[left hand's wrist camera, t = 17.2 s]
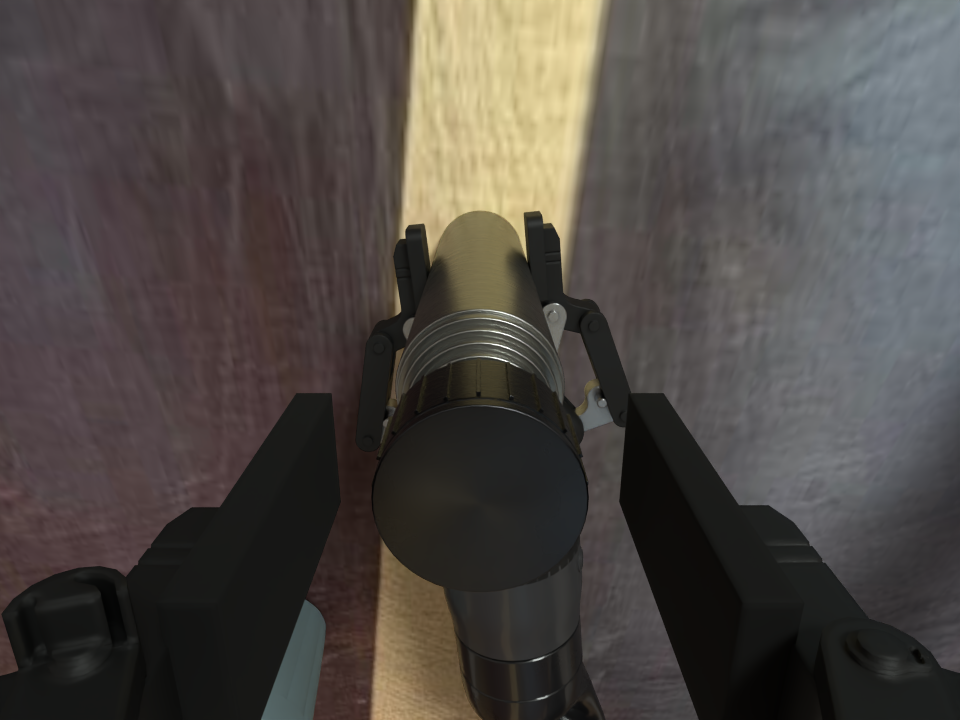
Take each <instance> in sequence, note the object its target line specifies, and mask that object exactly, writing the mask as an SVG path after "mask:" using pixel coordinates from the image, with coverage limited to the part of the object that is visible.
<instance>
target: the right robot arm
mask: <svg viewBox="0 0 960 720" xmlns="http://www.w3.org/2000/svg"><path fill="white" fill-rule="evenodd" d="M524 225H525V237H526V250H527V263H528V266H529V269H530V272H531V275H532V278H533V281H534V284H535V287H536V290H537V293H538V296H539V299H540V302H541V305H542V308H543V312H544V315H545V318H546V321H547V324H548V327H549V330H550V333H551V336H552V339H553V342H554V345H555V348H556V351H557V352H558V348H559V344H560V341H561V337H562V333H563V330H568V331H572V332H577V333H580V334H581V337H582V339H583V342H584V345H585V348H586V351H587V354H588V356H589V359H590V362H591V365H592V368H593V370H594V373H595V376H596V379H593V380H591V381H589V382H588V383H587V384H586V386H585V390H584V392H585V400H584V402H583V404H582V405H581V406H579V407H578V408H575V406H574V405H573V404H572V403H571V402H570V401H569V400H568V399H567V398H566V397H565V396H564V400H563V407H564V409H565V411H566V414H570V416H571V419H572V423H573V426H574V429H575V432H576V436H577V439H578V442H579V445H580V443H581V441H582V439H583V436H584V432H585V431H587V430H590V429H593V428H596V427H599V426H602V425H605V424H608V423H611V422H614V423H615V424H616V425H618V426H620V427H626V417H627V406H628V394H629V393H631V391H630V388H629V385H628V382H627V379H626V376H625V374H624V371H623V368H622V365H621V362H620V359H619V356H618V353H617V350H616V347H615V344H614V341H613V338H612V335H611V332H610V329H609V326H608V323H607V320H606V318H605V317H604V315H603V314H602V313H601V312H600V310H599V307H598V306H597V304H596V303H595V302H594V301H593V300H590V299H583V300H578V299H574V298H571V297H568V296H566V295H565V294H564V293H563V284H562V268H561V253H560V238H559V236H558V234H557V232H556V230H555V228H554V227H553V225H552V224H551V223H547V224H543V219H542V214H541V213H540V211H534V212H525V213H524ZM405 235H406V239H400V240H399V241H398V243H397V244H396V248H395V252H394V256H393V257H394V264H395V269H396V277H397V284H398V290H399V297H400V303H401V312H400V313H399V314H398V315H397V316H395V317H393V318H391V319H388V320H382V321H379V322H378V323H377V324H376V326H375V327H374V329H373V331H372V333H371V335H370V337H369V339H368V341H367V343H366V350H365V359H364V368H363V377H362V386H361V395H360V404H359V413H358V422H357V431H356V444H357V446H358V447H359V448H360V449H361V450H363V451H366V452H372V451H375V450H376V449H377V448H378V447H379V446H380V443H381V442H382V439H383V436H384V433H385V429H386V426H387V423H388V420H389V417H390V416H392V417H393V414H394V412H395V409H396V407H397V406H398V405H397V400H395V399H390V396H391V389H392V381H393V373H394V365H395V357H396V351H397V350H399V349H401V348H404V347H405V345H406V342H407V339H408V336H409V333H410V330H411V327H412V324H413V321H414V318H415V315H416V312H417V309H418V306H419V303H420V300H421V297H422V294H423V291H424V288H425V285H426V282H427V279H428V276H429V273H430V270H431V267H430V260H429V252H428V245H427V237H426V230H425V225H424V224H416V225H409V226H408V227H407V229H406V231H405ZM582 567H583V550H582V549H581V546H580V536H579V537H578V539H577V541H576V543H575V545H574V546H573V547H572V549H571V550H570V551H569V553H568V554H567V555H566V556H565V557H564V558H563V559H562V560H561V561H560V562H559V563H558V564H557V565H556V566H555V567H553V568H552V569H551V570H550V571H548V572H547V573H545V574H544V575H542V576H540V577H539V578H537V579H535V580H533V581H531V582H528V583H526V584H524V585H521V586H518V587H515V588H511V589H506V590H502V591H494V592H466V591H458V590H454V589H449V588H445V587H443V588H444V593H445V597H446V601H447V604H448V608H449V610H450V613H451V616H452V620H453V624H454V630H455V637H456V644H457V651H458V657H459V664H460V670H461V677H462V682H463V685H464V689H465V692H466V695H467V698H468V700H469V702H470V704H471V706H472V707H473V709H474V711H475V712H476V713H477V715H478V716H479V717H480V718H481V719H482V720H605V717H604V713H603V711H602V708H601V705H600V703H599V700H598V698H597V695H596V693H595V690H594V687H593V685H592V682H591V679H590V677H589V675H588V673H587V671H586V669H585V667H584V664H583V662H582V640H581V624H580V598H581V589H582Z"/></svg>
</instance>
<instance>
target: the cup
mask: <svg viewBox="0 0 960 720" xmlns="http://www.w3.org/2000/svg"><path fill="white" fill-rule="evenodd" d="M325 635H326V624H325V621H324V618H323V616H322V614H321V613H320V611H319V610H318V609H317V608H316V607H315V606H314V605H313V604H311V603H310V602H308V601H307V600H305V601H304V604H303V606H302V609H301V612H300V615H299V617H298V620H297V623H296V625H295V628H294V631H293V634H292V636H291V639H290V642H289V645H288V647H287V650H286V653H285V656H284V658H283V661H282V664H281V666H280V669H279V672H278V675H277V677H276V680H275V683H274V686H273V688H272V691H271V694H270V697H269V699H268V702H267V705H266V708H265V710H264V713H263V716H262V718H261V720H313V714H314V708H315V701H316V695H317V688H318V682H319V676H320V669H321V663H322V656H323V649H324V643H325Z"/></svg>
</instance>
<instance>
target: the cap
mask: <svg viewBox="0 0 960 720" xmlns="http://www.w3.org/2000/svg"><path fill="white" fill-rule="evenodd" d="M581 457H583V455H582V452H581V449H580V445H579V442H578V439H577V436H576V432H575V429H574V426H573V423H572V419H571V416H570V414H566V411H565V409H564V407H563V405H562V404H561V402H560V400H559V398H558V394H557V392H556V391H554V392H553V391H552V390H551V389H550V388H549V387H548V386H547V385H546V384H545V383H544V382H542V381H541V380H540V379H538V378H537V375H536V374H535V373H533V374H531V373H529V372H527V371H525V370H523V369H521V368H519V367H516V366H514V365H511V364H510V362H506V363H503V362H499V361H491V360H481V358H477V360H469V361H461V362H457V363H453V364H452V363H451V362H450V363H448V364H447V365H446V366H444V367H441V368H439V369H437V370H435V371H433V372H431V373H429V374H428V375H425V374H424V375H423V376H422V377H421V379H420V380H419V381H418V382H416V383H415V384H414V385H413V386H412V387H411V388H410V389H409V390H408V391H407V393H406V394H405V393H403V394H402V395H401V398H400V402H399V404H398V406H397V407H396V409H395V412H394V414H393V417H392V416H390V417H389V420H388V423H387V426H386V429H385V433H384V436H383V439H382V442H381V446H380V449H379V452H378V455H377V460H379V462H378V465H377V469H376V472H375V475H374V479H373V482H372V497H371V498H372V511H373V515H374V520H375V523H376V526H377V528H378V531H379V534H380V535H381V537H382V539H383V541H384V543H385V544H386V546H387V547H388V548H389V550H390V551H391V552H392V554H393V555H394V556H395V557H396V558H397V559H398V560H399V561H400V562H401V563H402V564H403V565H404V566H405V567H407V568H408V569H409V570H411V571H412V572H413V573H415V574H417V575H418V576H420V577H421V578H423V579H425V580H427V581H430V582H432V583H434V584H436V585H439V586H442V587H445V588H449V589H454V590H458V591H466V592H494V591H502V590H506V589H511V588H515V587H518V586H521V585H524V584H526V583H528V582H531V581H533V580H535V579H537V578H539V577H540V576H542V575H544V574H545V573H547V572H548V571H550V570H551V569H552V568H553V567H555V566H556V565H557V564H558V563H559V562H560V561H561V560H562V559H563V558H564V557H565V556H566V555H567V554H568V553H569V551H570V550H571V549H572V547H573V546H574V545H575V543H576V541H577V539H578V537H579V536H580V534H581V531H582V529H583V526H584V523H585V520H586V516H587V511H588V500H589V495H588V479H587V476H586V473H585V469H584V466H583V463H582V459H581Z"/></svg>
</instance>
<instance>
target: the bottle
mask: <svg viewBox="0 0 960 720" xmlns="http://www.w3.org/2000/svg"><path fill="white" fill-rule="evenodd" d="M477 358H481V360H491V361H499V362H503V363H506V362H510V364H511V365H514V366H516V367H519V368H521V369H523V370H525V371H527V372H529V373H531V374H533V373H535V374H536V375H537V378H538V379H540V380H541V381H542V382H544V383H545V384H546V385H547V386H548V387H549V388H550V389H551V390H552V391H553V392H554V391H556V392H557V394H558V398H559V400H560V402H561V404H562V405H563V400H564V391H565V383H564V374H563V369H562V366H561V363H560V360H559V357H558V354H557V351H556V348H555V345H554V342H553V339H552V336H551V333H550V330H549V327H548V324H547V321H546V318H545V315H544V312H543V308H542V305H541V302H540V299H539V296H538V293H537V290H536V287H535V284H534V281H533V278H532V275H531V272H530V269H529V266H528V263H527V260H526V257H525V254H524V251H523V248H522V245H521V242H520V239H519V236H518V234H517V232H516V231H515V229H514V228H513V226H512V225H511V224H510V223H509V222H508V221H507V220H506V219H504V218H503V217H501V216H499V215H497V214H495V213H492V212H487V211H473V212H468V213H465V214H463V215H461V216H459V217H457V218H456V219H455V220H453V221H452V222H451V223H450V224H449V225H448V227H447V228H446V229H445V231H444V233H443V235H442V237H441V240H440V243H439V246H438V249H437V252H436V255H435V258H434V261H433V264H432V267H431V270H430V273H429V276H428V279H427V282H426V285H425V288H424V291H423V294H422V297H421V300H420V303H419V306H418V309H417V312H416V315H415V318H414V321H413V324H412V327H411V330H410V333H409V336H408V339H407V342H406V345H405V348H404V351H403V354H402V357H401V360H400V363H399V366H398V370H397V375H396V399H397V405H398V404H399V402H400V398H401V395H402V394H403V393H405V394H406V393H407V391H408V390H409V389H410V388H411V387H412V386H413V385H414V384H415V383H416V382H418V381H419V380H420V379H421V377H422V376H423V375H424V374H425V375H428V374H429V373H431V372H433V371H435V370H437V369H439V368H441V367H444V366H446V365H447V364H448V363H450V362H451V363H452V364H453V363H457V362H461V361H469V360H477Z"/></svg>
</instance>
